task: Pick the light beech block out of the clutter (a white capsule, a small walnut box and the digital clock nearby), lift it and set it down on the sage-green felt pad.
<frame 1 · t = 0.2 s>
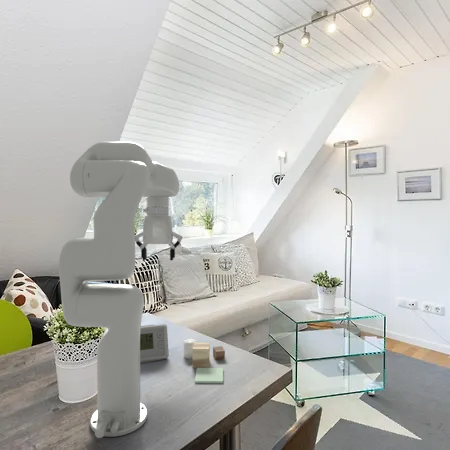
hand: (158, 259, 123), 31 cm above the table, tool pointing down, fingers open, 9 cm apart
felt pad: (209, 376, 101), on the table
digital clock: (143, 360, 112), on the table
white capsule: (190, 356, 115), on the table
beech block: (201, 364, 109), on the table
walnut box: (218, 357, 114), on the table
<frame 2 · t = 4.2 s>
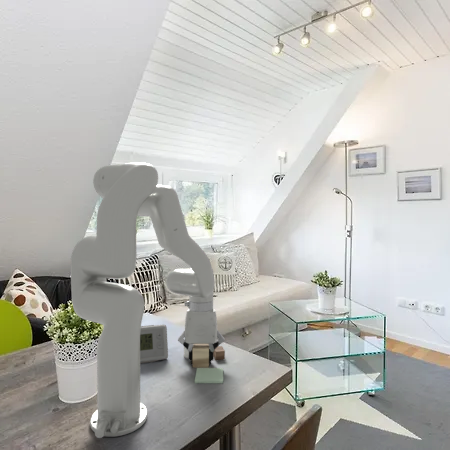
hand: (201, 361, 109), 1 cm above the table, tool pointing down, fingers closed on beech block, 5 cm apart
beech block: (201, 364, 109), on the table, touching gripper
everything else where it was.
when the fingers open (2 cm above the table, at t = 9.4 s): beech block drops 1 cm, resting on felt pad.
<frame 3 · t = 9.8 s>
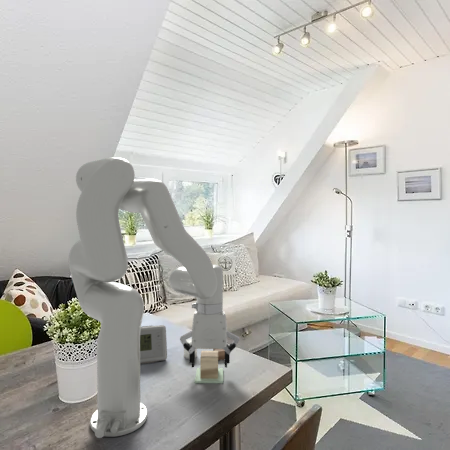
hand: (209, 365, 101), 3 cm above the table, tool pointing down, fingers open, 9 cm apart
beech block: (209, 374, 101), point 1 cm above the table, touching felt pad
everything else where it was.
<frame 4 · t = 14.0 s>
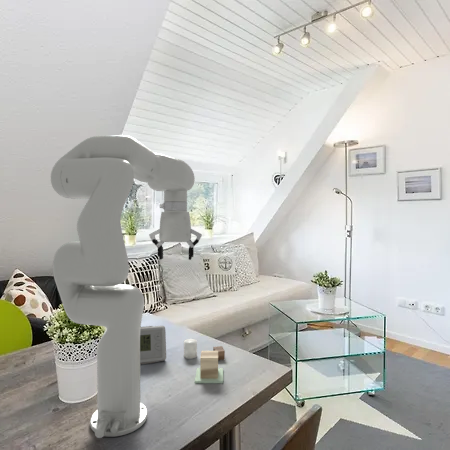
hand: (175, 259, 114), 32 cm above the table, tool pointing down, fingers open, 9 cm apart
at the end: beech block inside the target area on the felt pad (0.0 cm from its centre), point 0.6 cm above the felt pad's base; beech block tilted 0°; the gripper is holding nothing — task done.
